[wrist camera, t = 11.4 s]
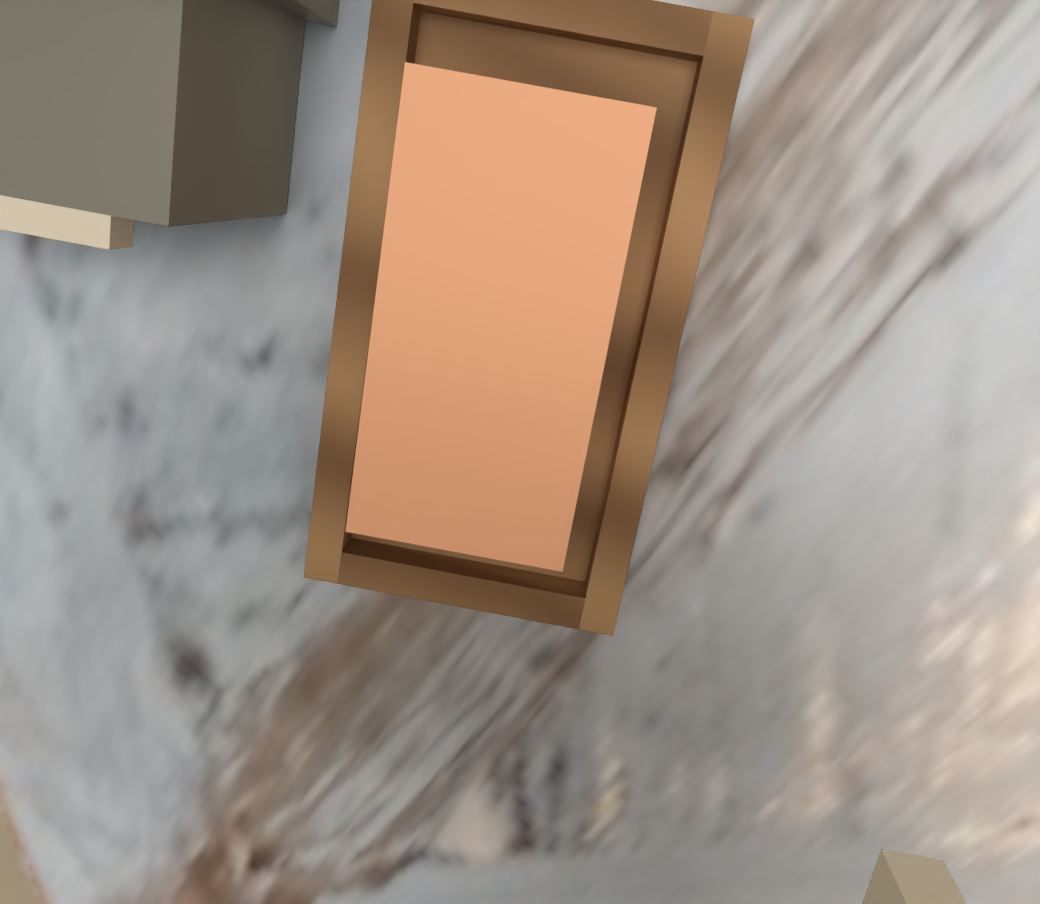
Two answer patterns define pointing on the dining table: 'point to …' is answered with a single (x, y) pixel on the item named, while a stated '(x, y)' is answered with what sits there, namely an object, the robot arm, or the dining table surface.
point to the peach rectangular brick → (493, 312)
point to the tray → (642, 297)
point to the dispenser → (147, 112)
